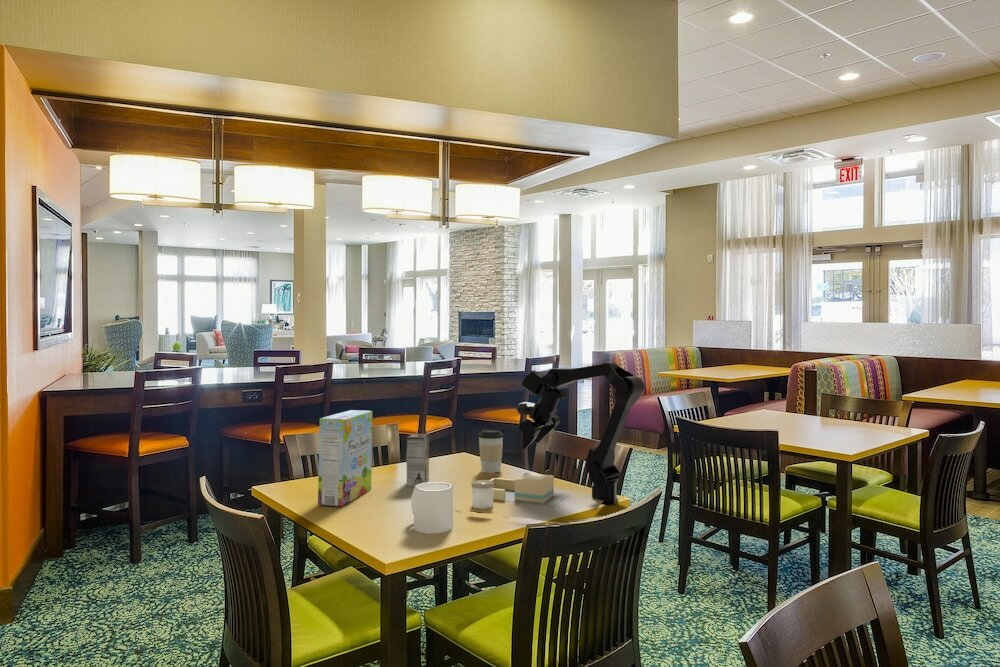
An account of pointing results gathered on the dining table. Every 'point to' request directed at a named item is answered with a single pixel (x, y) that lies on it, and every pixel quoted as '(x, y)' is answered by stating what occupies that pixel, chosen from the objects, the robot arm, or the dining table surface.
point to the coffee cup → (491, 450)
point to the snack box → (344, 457)
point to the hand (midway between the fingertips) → (530, 445)
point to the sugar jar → (482, 494)
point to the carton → (534, 487)
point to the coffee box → (417, 458)
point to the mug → (433, 507)
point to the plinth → (506, 490)
